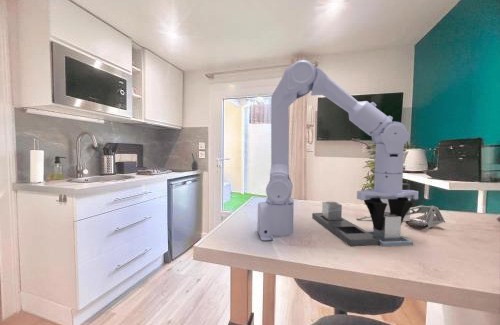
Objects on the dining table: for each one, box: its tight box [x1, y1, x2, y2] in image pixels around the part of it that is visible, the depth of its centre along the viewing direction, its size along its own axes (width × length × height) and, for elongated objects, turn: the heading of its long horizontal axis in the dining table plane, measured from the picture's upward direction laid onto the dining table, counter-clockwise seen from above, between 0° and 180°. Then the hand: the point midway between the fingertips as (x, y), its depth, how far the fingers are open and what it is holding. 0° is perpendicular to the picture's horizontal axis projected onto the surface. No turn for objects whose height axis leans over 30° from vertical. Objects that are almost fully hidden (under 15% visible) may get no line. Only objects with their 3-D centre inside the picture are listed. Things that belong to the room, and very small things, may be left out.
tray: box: [366, 230, 414, 247], centre depth 54 cm, size 8×8×2 cm
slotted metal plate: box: [311, 212, 380, 248], centre depth 61 cm, size 7×22×2 cm, turn 6°
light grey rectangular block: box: [372, 212, 402, 242], centre depth 54 cm, size 4×4×6 cm
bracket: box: [355, 205, 446, 229], centre depth 67 cm, size 3×21×10 cm, turn 79°
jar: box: [381, 182, 411, 223], centre depth 74 cm, size 9×8×12 cm
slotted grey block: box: [321, 201, 343, 221], centre depth 66 cm, size 4×4×6 cm
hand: (386, 228), depth 54 cm, fingers closed on light grey rectangular block, 4 cm apart
